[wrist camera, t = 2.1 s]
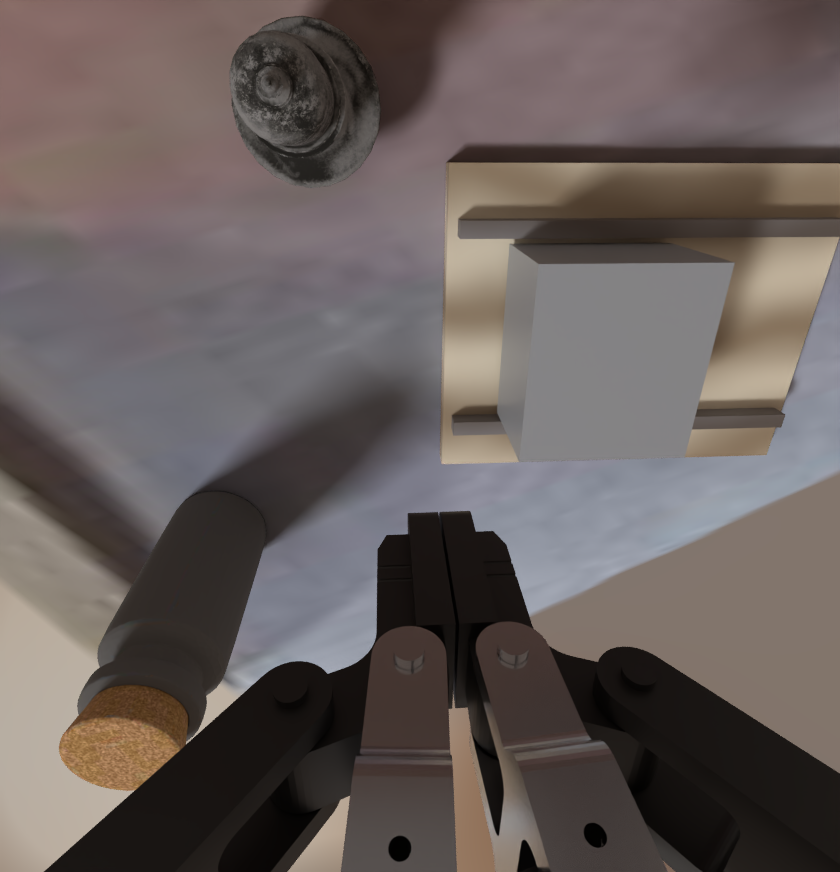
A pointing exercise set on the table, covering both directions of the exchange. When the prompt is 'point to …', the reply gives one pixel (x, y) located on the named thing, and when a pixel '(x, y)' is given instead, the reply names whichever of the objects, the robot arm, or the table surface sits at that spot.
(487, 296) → the board
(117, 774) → the bottle
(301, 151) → the salt shaker
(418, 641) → the robot arm
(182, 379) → the table surface
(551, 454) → the cover
